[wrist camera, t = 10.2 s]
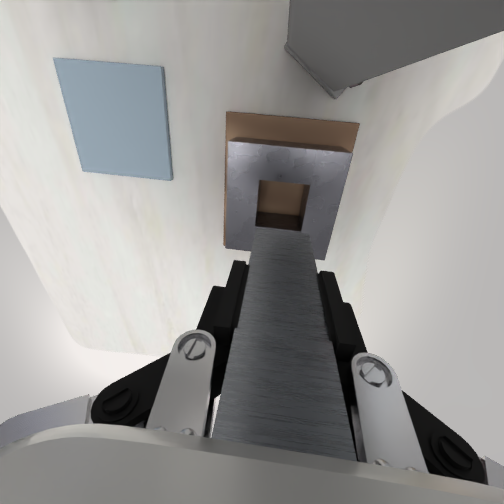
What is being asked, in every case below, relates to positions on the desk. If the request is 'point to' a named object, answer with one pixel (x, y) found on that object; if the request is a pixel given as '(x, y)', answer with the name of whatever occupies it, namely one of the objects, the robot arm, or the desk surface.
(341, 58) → the cassette tape recorder
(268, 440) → the key peg
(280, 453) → the robot arm
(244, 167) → the block
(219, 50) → the desk surface
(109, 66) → the mat
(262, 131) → the stand
